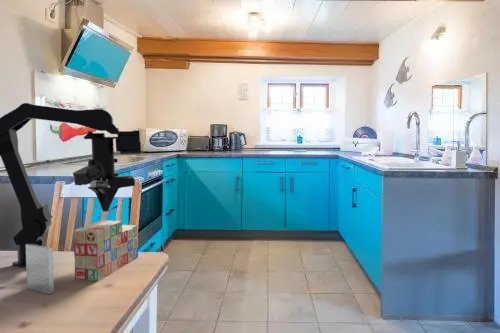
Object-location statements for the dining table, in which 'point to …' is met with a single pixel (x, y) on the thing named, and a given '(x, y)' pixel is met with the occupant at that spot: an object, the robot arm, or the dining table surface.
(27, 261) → the bookend
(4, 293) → the dining table surface
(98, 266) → the stack of blocks
